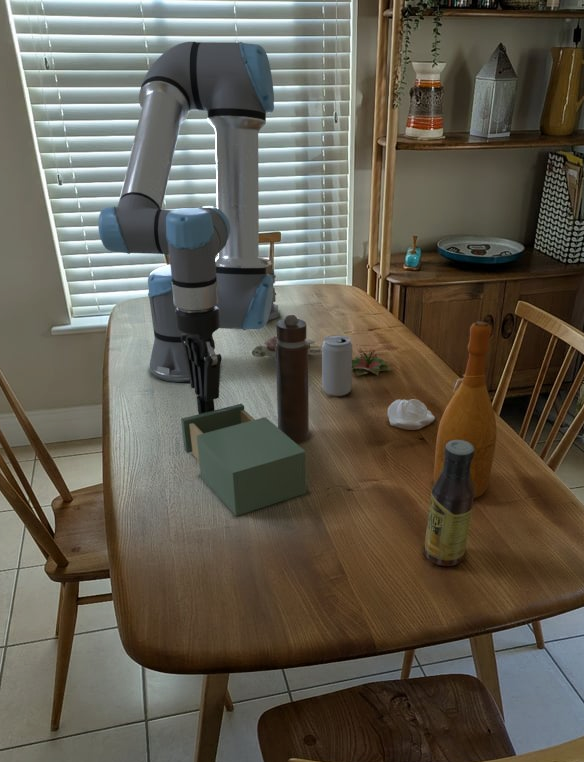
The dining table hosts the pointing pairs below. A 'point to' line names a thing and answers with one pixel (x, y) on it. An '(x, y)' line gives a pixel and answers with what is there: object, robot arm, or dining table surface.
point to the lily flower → (369, 364)
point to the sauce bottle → (451, 506)
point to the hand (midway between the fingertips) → (207, 427)
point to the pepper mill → (292, 378)
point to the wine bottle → (471, 413)
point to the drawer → (211, 424)
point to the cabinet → (252, 465)
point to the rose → (409, 414)
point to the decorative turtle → (269, 348)
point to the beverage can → (336, 365)
